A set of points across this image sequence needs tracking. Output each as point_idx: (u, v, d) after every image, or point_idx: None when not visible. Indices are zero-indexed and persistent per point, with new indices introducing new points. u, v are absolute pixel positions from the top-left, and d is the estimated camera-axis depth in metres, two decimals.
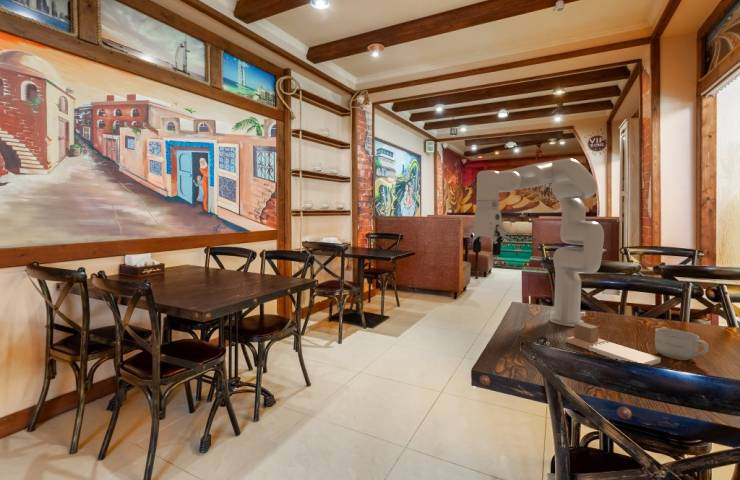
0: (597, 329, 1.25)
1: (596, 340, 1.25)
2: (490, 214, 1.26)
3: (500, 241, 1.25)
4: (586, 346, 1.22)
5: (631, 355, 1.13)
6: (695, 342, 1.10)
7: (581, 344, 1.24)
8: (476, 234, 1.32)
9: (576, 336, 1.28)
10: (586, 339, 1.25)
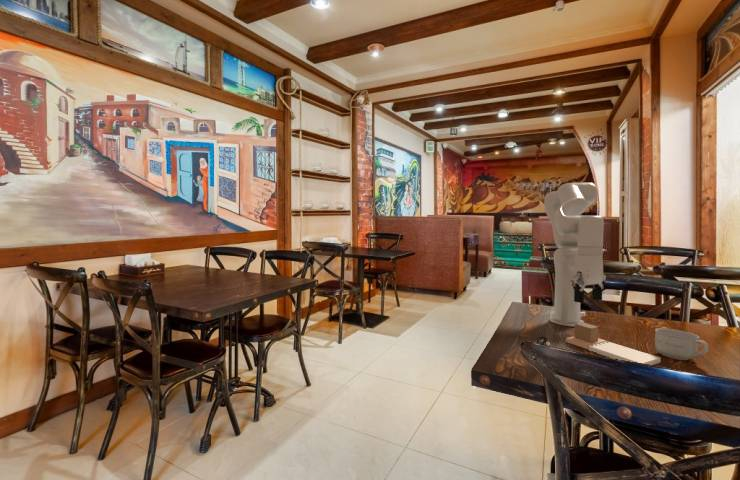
0: (597, 329, 1.25)
1: (596, 340, 1.25)
2: (601, 260, 1.25)
3: None
4: (586, 346, 1.22)
5: (631, 355, 1.13)
6: (695, 342, 1.10)
7: (581, 344, 1.24)
8: (589, 283, 1.22)
9: (576, 336, 1.28)
10: (586, 339, 1.25)
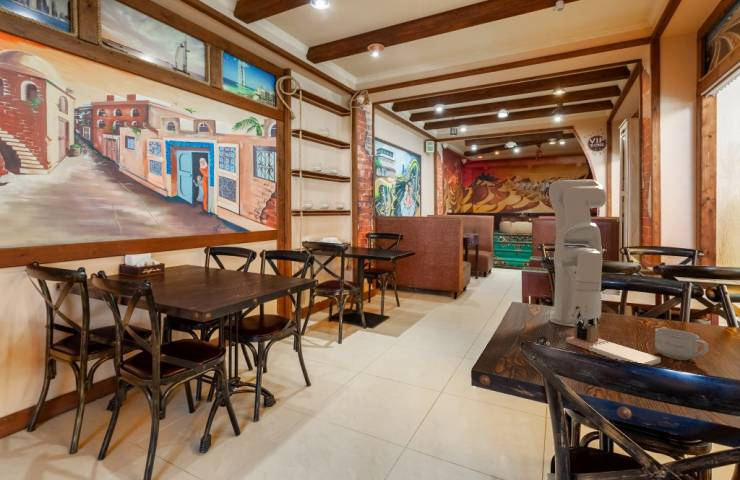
0: (597, 329, 1.25)
1: (596, 340, 1.25)
2: (599, 294, 1.26)
3: None
4: (586, 346, 1.22)
5: (631, 355, 1.13)
6: (695, 342, 1.10)
7: (581, 344, 1.24)
8: (587, 318, 1.24)
9: (576, 336, 1.28)
10: (586, 339, 1.25)
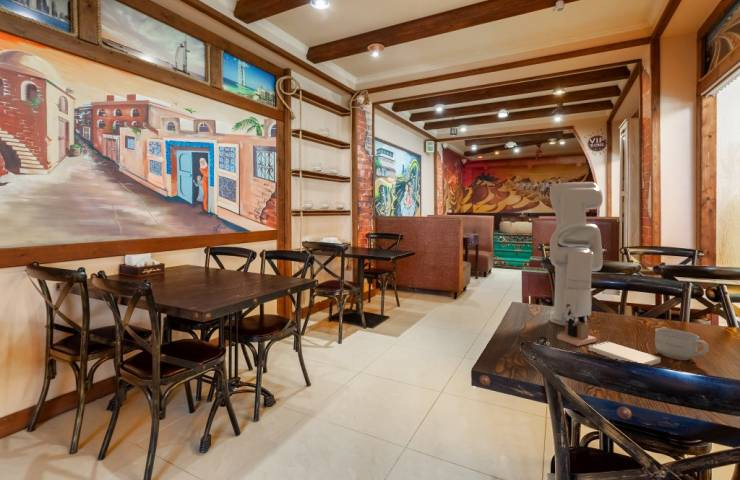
0: (587, 326, 1.28)
1: (586, 337, 1.28)
2: (590, 292, 1.29)
3: None
4: (576, 343, 1.25)
5: (631, 355, 1.13)
6: (695, 342, 1.10)
7: (571, 341, 1.27)
8: (577, 315, 1.27)
9: (567, 333, 1.31)
10: None
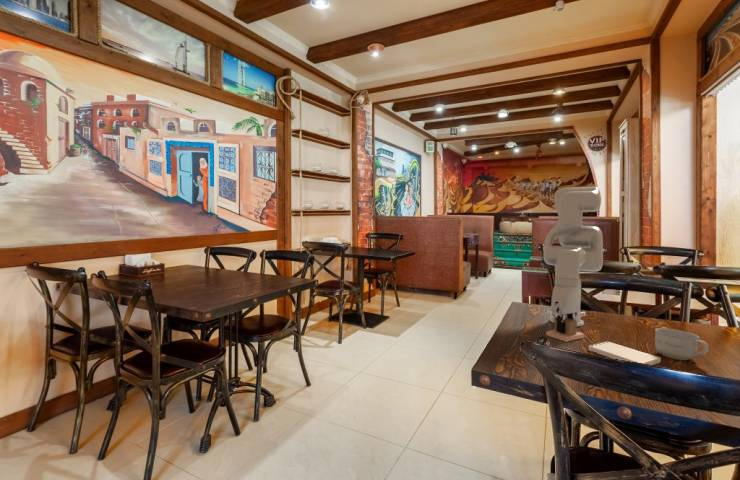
0: (575, 323, 1.32)
1: (574, 333, 1.32)
2: (578, 290, 1.33)
3: None
4: (564, 339, 1.29)
5: (631, 355, 1.13)
6: (695, 342, 1.10)
7: (560, 337, 1.31)
8: (565, 312, 1.31)
9: None
10: (565, 332, 1.32)
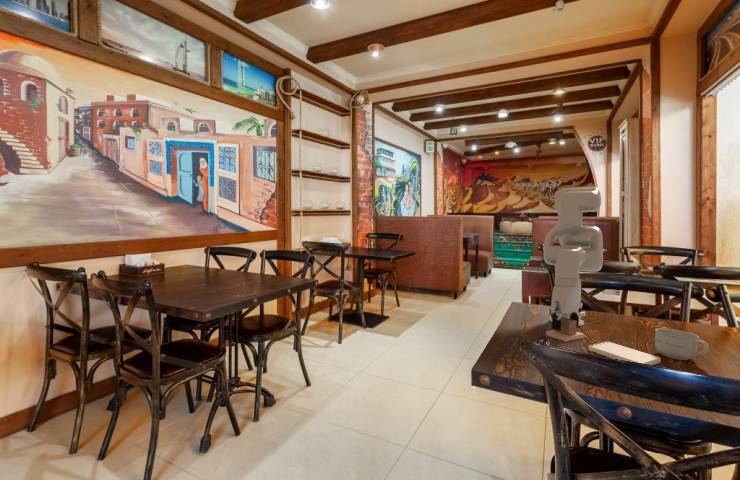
0: (575, 323, 1.32)
1: (574, 333, 1.32)
2: (578, 290, 1.33)
3: None
4: (564, 339, 1.29)
5: (631, 355, 1.13)
6: (695, 342, 1.10)
7: (559, 337, 1.31)
8: (565, 312, 1.31)
9: (556, 330, 1.36)
10: (565, 332, 1.32)
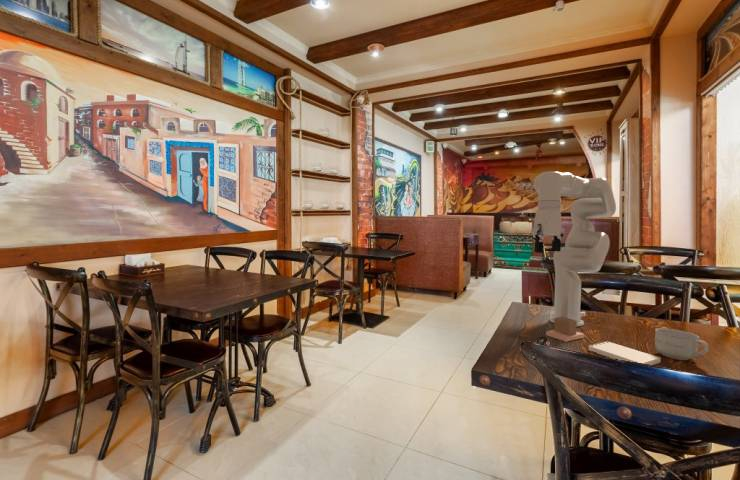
0: (575, 323, 1.32)
1: (574, 333, 1.32)
2: (559, 213, 1.35)
3: None
4: (564, 339, 1.29)
5: (631, 355, 1.13)
6: (695, 342, 1.10)
7: (559, 337, 1.31)
8: (547, 234, 1.32)
9: (556, 330, 1.36)
10: (565, 332, 1.32)
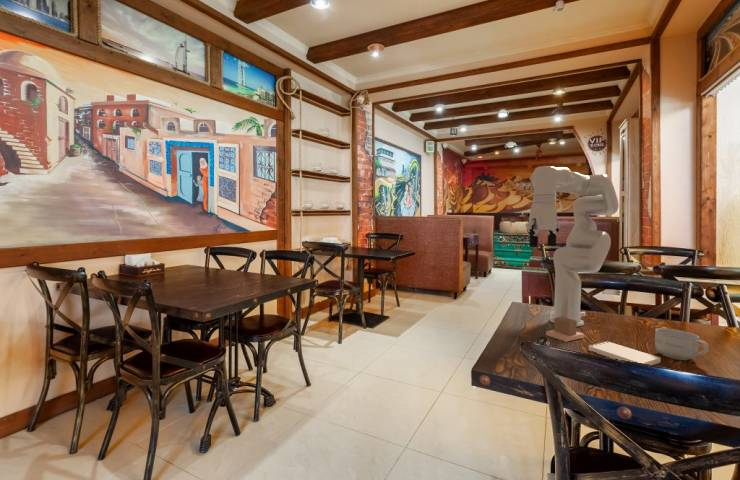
0: (575, 323, 1.32)
1: (574, 333, 1.32)
2: (555, 208, 1.35)
3: None
4: (564, 339, 1.29)
5: (631, 355, 1.13)
6: (695, 342, 1.10)
7: (559, 337, 1.31)
8: (542, 228, 1.32)
9: (556, 330, 1.36)
10: (565, 332, 1.32)
